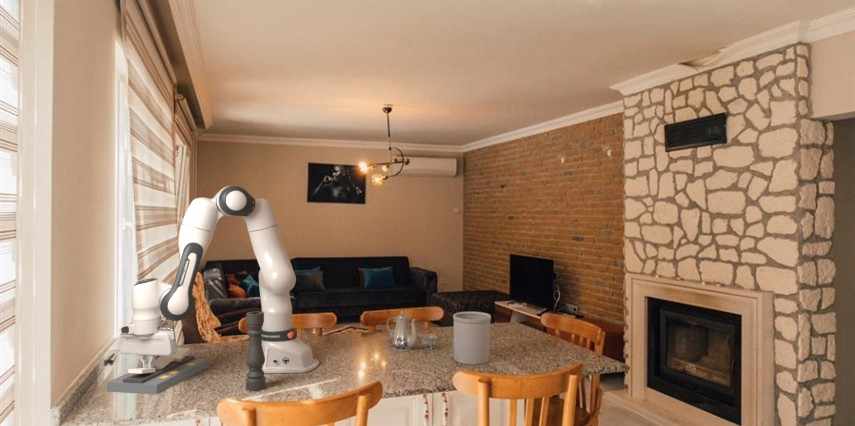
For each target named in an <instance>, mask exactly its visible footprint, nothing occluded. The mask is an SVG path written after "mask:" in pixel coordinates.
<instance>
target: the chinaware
mask: <svg viewBox="0 0 855 426" xmlns="http://www.w3.org/2000/svg"><path fill="white" fill-rule="evenodd" d="M410 317H411V316H409V315H407V314H406V313H405V312H404V310H401V311H400V313H399V314H397V315H395V316H394V317H390V318H388V319H387V321H386V323H385V325H386V328H387V332H386V333H385V336H386V339H388V340H389V339H390V340H389V345H390V346H391V348H392V350H393V351H396V352H409V351H411V350H413V347H414V346H415V345H416V344H417V343H418V340H419V341H420V345H421V346H422V347H424V350H433V349H434V348H436V344H437V341H438V338H439V337H440V336H438V335H436V334H434V333H431V334H429V335H428V334H426V333H422V334H421V335H419V334H418V330H417V327H416V323H415V322H416V321H417V318H413V319H412V320H411V325H410ZM390 320H393V323H395V328H393V329H390V327H389V322H390ZM410 326H411V329H410ZM388 336H389V337H388Z"/></svg>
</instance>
